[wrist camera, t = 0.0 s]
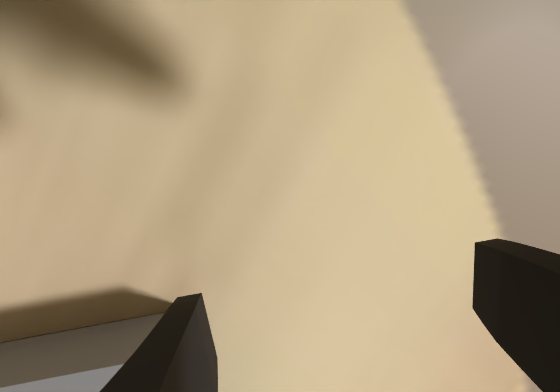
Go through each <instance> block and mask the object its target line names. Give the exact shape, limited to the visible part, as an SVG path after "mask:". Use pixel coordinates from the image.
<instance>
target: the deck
mask: <svg viewBox="0 0 560 392" xmlns="http://www.w3.org/2000/svg"><path fill="white" fill-rule="evenodd" d="M164 314H165V313H160V314H154V315H149V316H143V317H138V318H133V319H127V320H122V321H117V322H111V323H106V324H101V325H95V326H90V327H84V328H79V329H74V330H68V331H63V332H58V333H52V334H47V335H42V336H36V337H31V338H25V339H20V340H15V341H9V342H4V343H0V392H100V391H101V389H102V388H103V387H104V386H105V385H106V384H107V383H108V382H109V381H110V379H111V378H112V377H113V376H114V375H115V374H116V373H117V371H118V370H119V369H120V368H121V367H122V366H123V365H124V364H125V362H126V361H127V360H128V359H129V358H130V357H131V356H132V354H133V353H134V352H135V351H136V350H137V348H138V347H139V346H140V345H141V343H142V342H143V341H144V340H145V338H146V337H147V336H148V335H149V333H150V332H151V331H152V329H153V328H154V327H155V325H156V324H157V323H158V322H159V320H160V319H161V318H162V316H163V315H164Z"/></svg>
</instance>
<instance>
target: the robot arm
mask: <svg viewBox="0 0 560 392" xmlns="http://www.w3.org/2000/svg"><path fill="white" fill-rule="evenodd" d="M473 309H474V311H475V312H476V314H477V315H478V317H479V318H480V320H481V321H482V323H483V324H484V326H485V327H486V328H487V330H488V331H489V332H490V334H491V335H492V336H493V338H494V339H495V340H496V342H497V343H498V344H499V345H500V346H501V347H502V348H503V349H504V351H505V352H506V353H507V354H508V355H509V356H510V357H511V358H512V359H513V360H514V361H515V363H516V364H517V365H518V366H519V367H520V368H521V369H522V370H523V371H524V372H525V373H526V374H527V375H528V377H529V378H530V379H531V380H532V381H533V382H534V383H535V384H536V385H537V386H538V387H539V388H540V389H541V390H542V391H543V392H560V254H556V253H552V252H549V251H546V250H542V249H539V248H535V247H531V246H528V245H524V244H520V243H516V242H512V241H507V240H502V239H492V240H487V241H481V242H476V243H475V257H474V284H473ZM100 392H218V367H217V355H216V350H215V346H214V342H213V338H212V334H211V330H210V326H209V322H208V317H207V313H206V309H205V305H204V301H203V297H202V293H199V294H193V295H188V296H182V297H177V298H176V300H175V301H174V302H173V303H172V305H171V306H170V307H169V309H168V310H167V311H166V312H165V314H164V315H163V316H162V318H161V319H160V320H159V322H158V323H157V324H156V325H155V327H154V328H153V329H152V331H151V332H150V333H149V335H148V336H147V337H146V338H145V340H144V341H143V342H142V343H141V345H140V346H139V347H138V348H137V350H136V351H135V352H134V353H133V354H132V356H131V357H130V358H129V359H128V360H127V361H126V362H125V364H124V365H123V366H122V367H121V368H120V369H119V370H118V371H117V373H116V374H115V375H114V376H113V377H112V378H111V379H110V381H109V382H108V383H107V384H106V385H105V386H104V387H103V388H102V389H101V391H100Z"/></svg>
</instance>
